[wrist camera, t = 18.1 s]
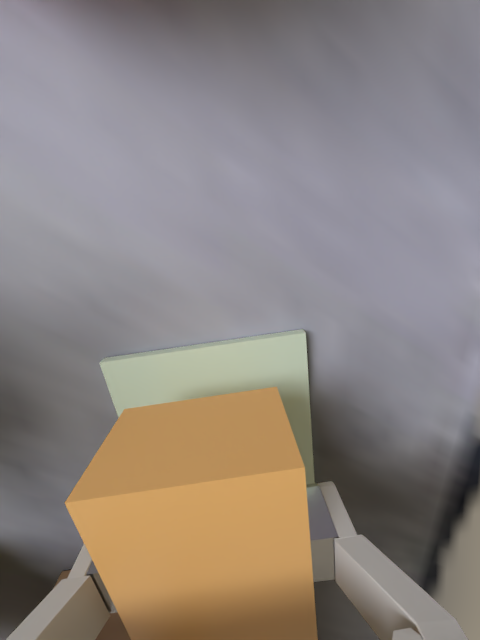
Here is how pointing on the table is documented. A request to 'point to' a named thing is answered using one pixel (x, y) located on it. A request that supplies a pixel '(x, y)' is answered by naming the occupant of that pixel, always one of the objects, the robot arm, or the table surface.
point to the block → (202, 520)
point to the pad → (220, 377)
